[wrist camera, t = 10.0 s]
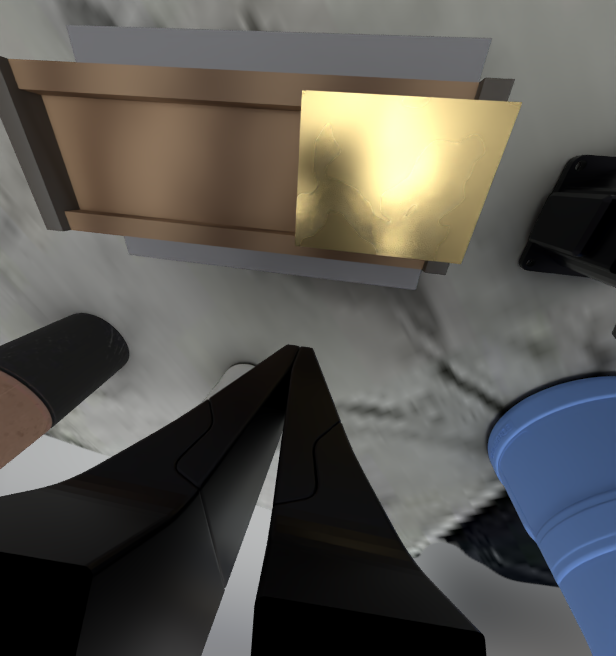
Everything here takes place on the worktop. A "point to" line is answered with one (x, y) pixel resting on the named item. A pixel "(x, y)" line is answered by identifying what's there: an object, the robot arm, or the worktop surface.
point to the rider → (396, 172)
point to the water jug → (568, 492)
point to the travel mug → (53, 376)
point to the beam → (182, 149)
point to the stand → (286, 57)
